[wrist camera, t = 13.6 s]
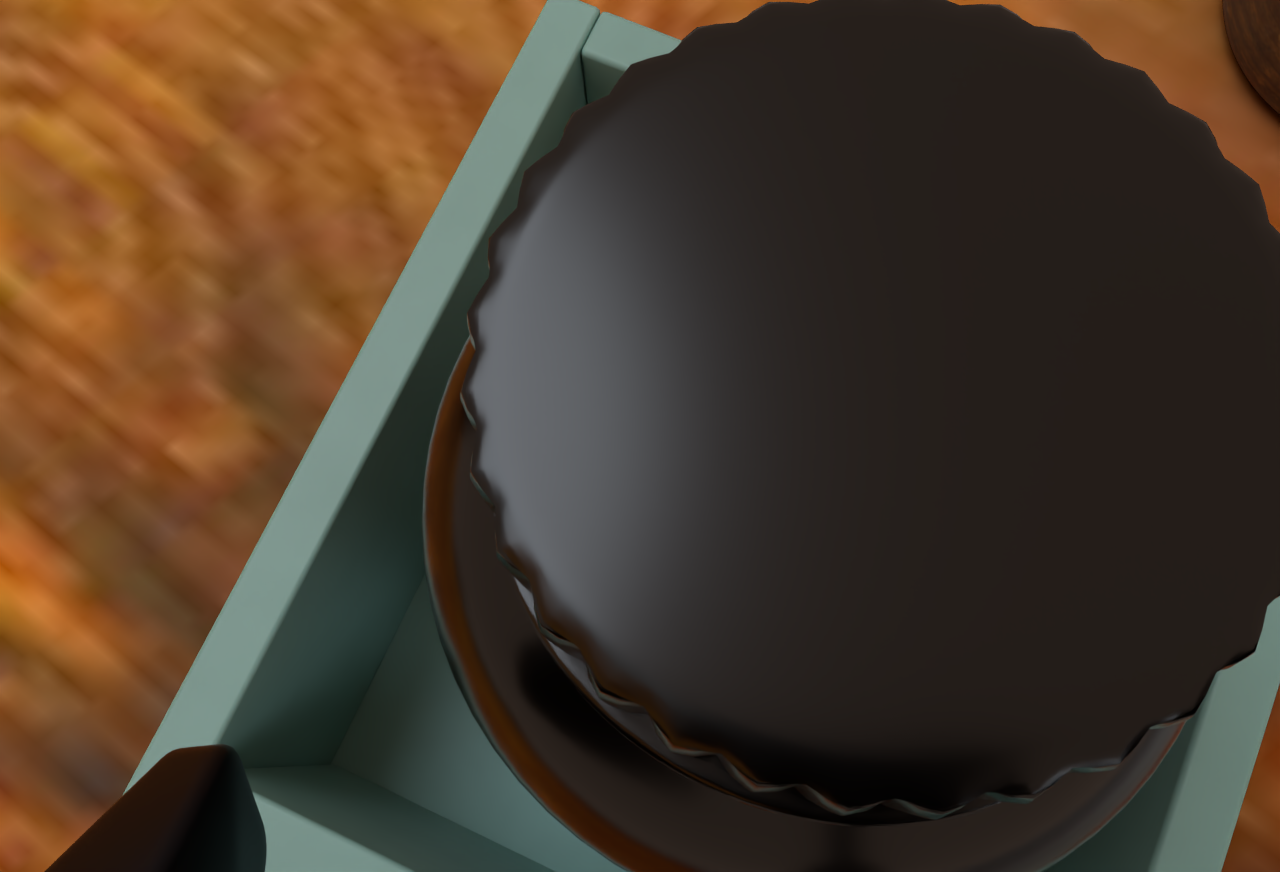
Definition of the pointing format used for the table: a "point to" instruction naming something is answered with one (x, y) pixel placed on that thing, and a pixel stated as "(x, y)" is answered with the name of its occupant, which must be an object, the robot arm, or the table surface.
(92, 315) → the table surface
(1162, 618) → the supplement bottle
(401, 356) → the open storage bin
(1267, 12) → the utensil holder
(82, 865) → the robot arm
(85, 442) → the table surface
